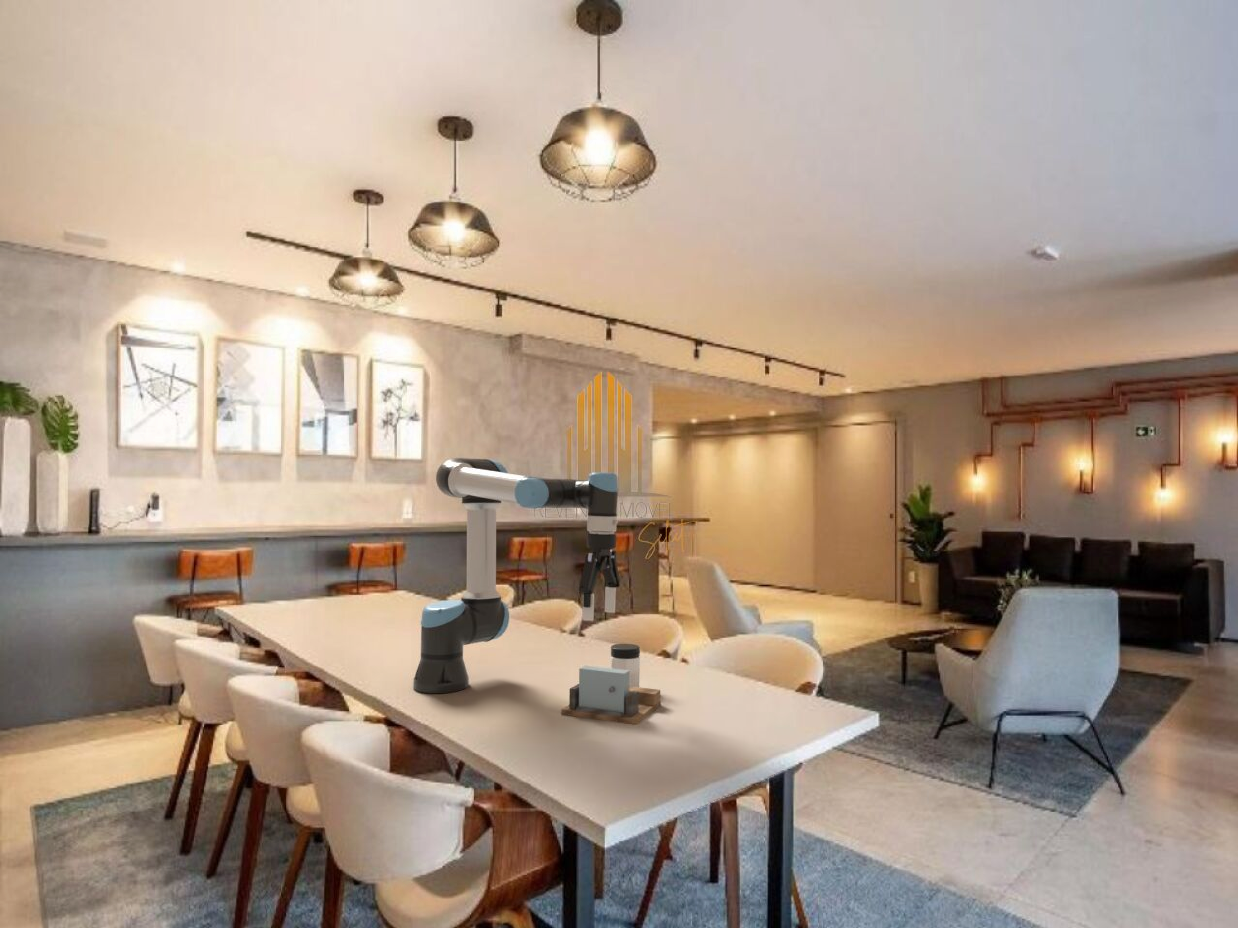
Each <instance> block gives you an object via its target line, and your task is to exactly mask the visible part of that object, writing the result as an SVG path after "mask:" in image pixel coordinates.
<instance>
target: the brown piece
mask: <svg viewBox="0 0 1238 928" xmlns="http://www.w3.org/2000/svg"><path fill="white" fill-rule="evenodd" d="M568 700H569V703H568V705H566V706H564V707H563V708H561V709H560V715H562V716H563V715H564V716H573V717H579V718H584V719H593V720H598V721H599V720H600V721H607V722H614V723H615V722H616V723H621V724H629V725H636V726H637V725H638V724H640V722H642V721H643V720H645V719H646V718H647V717H648V716H649V715H651V714H652V713H653V712H654V711H656V709H658V708H659V707H660V706H661V704H662V701H661V689H658V688H657V689H656V688H655V689H654V688H649V687H648V688H647V687H640V686H639V687H632V686H629V694H628V695H626V714H625V715H623V712H618V711H610V710H603V709H595V708H588V707H581V706H579V683H577V684H575V685H574V686H571V687H570V688H569V699H568Z"/></svg>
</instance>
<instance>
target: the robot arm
mask: <svg viewBox="0 0 1238 928" xmlns="http://www.w3.org/2000/svg"><path fill="white" fill-rule="evenodd" d="M618 480H619V478H618V474H616V473H615V472H599V471H598V472H597V471H596V472H593V471H591V472H590V473H589V474H588V479H573V478H572V479H571V478H562V479H561V478H542V477H535V476H529V475H528V476H527V475H521V474H515V473H509V472H508V471H507V468H506V467H504V464H502V463H501V462H499V461H498V460H492V459H488V458H487V459H486V458H484V459H483V458H481V459H480V458H464V457H454V458H453V457H452V458H450V459H448V460H445V461H444V462H442V464H441V465H440V466H439V467H438V468H437V471H436V475H435V482H436V485H437V488H438V489H439V490H440V491H441V493H443V494H444V495H446V496H449V497H452V498H461V505H462V506H463V507H464V508H465V509H466V517H467V518H466V590H465V592H464V593H463V594H462V595H461V597H460V598H461V600H459V599H447V600H438V601H435V602H432V603H429V604H427V605H426V606H424V608H423V609H422V611H421V620H420V625H421V626H420V627H421V633H420V659H419V662H418V666H417V669H416V670H415V674H414V678H413V682H412V683H413V684H412V685H413V686H412V688H413V690H415V691H417V692H420V693H425V694H446V693H455V692H459V691H463V690H464V689H467V688H468V687H469V685H470V683H469V682H470V681H469V680H470V679H469V675H468V669H467V667H466V664H465V663H466V662H465V661H464V646H467V645H471V644H478V643H483V642H486V643H487V642H490V641H494V640H496V639H500V637H502V636H503V634H505V633H506V631H507V629H508V626H509V623H510V612H509V608H508V607H507V606H508V605H507V604H506V603H505V602H504V600H503V601H502V595H501V594H500V593H499V592H498V590H497V510H498V508H499V507H500V506H501V505H502V502H506V503H511V504H517V505H519V506H520V507H522V508H527V509H546V508H547V509H548V508H549V509H551V508H552V509H586V510H587V524H586V530H587V532H589V533H587V535H586V547H587V548H588V549H591V552H586V553H585V557H584V564H583V565H584V566H583V570H582V574H581V578H580V582H579V586H578V593H579V594H582V616H581V617H582V621H586V622H588V621H589V622H594V619H595V618H594V617H595V615H594V613H595V593H593V592H594V589H595V587H596V585H597V583H598V582H597V581H598V579H599V575H600V573H602V574H603V578H604V580H605V584H606V586H605V589H604V591H605V593H604V594H605V595H604V613H608V614H610V613H611V614H615V613H616V598H617V597H616V596H617V595H616V594H617V593H616V592H617V588H620V586H621V585H620V583H621V580H620V573H619V569H618V563H617V555H616V554H617V552H616V548H617V534H616V532H617V525H618V524H619V520H618V519H617V518H618V514H617V513H618V512H617V511H618V496H619V481H618ZM614 549H615V550H614Z"/></svg>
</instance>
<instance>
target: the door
mask: <svg viewBox="0 0 1238 928" xmlns="http://www.w3.org/2000/svg"><path fill="white" fill-rule="evenodd" d="M578 669H579V670H578V671H579V672H578V673H579V674H578V675H579V677H578V678H579V679H578V684H579V706H581V707H588V708H595V709H603V710H610V711H618V712H623V715H625V714H626V695H628V694H629V670H621V669H611V667H602V666H601V667H600V666H594V665H584V666H582V667H580V668H578Z"/></svg>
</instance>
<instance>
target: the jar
mask: <svg viewBox="0 0 1238 928" xmlns="http://www.w3.org/2000/svg"><path fill="white" fill-rule="evenodd" d="M640 653H641V648H640V646H639V645H637V644H631V643H616V644H612V645H611V646H610V668H611V669H621V670H629V686H632V687H640V672H641V671H640V667H641V666H640V661H641V660H640V659H641V658H640Z"/></svg>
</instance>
